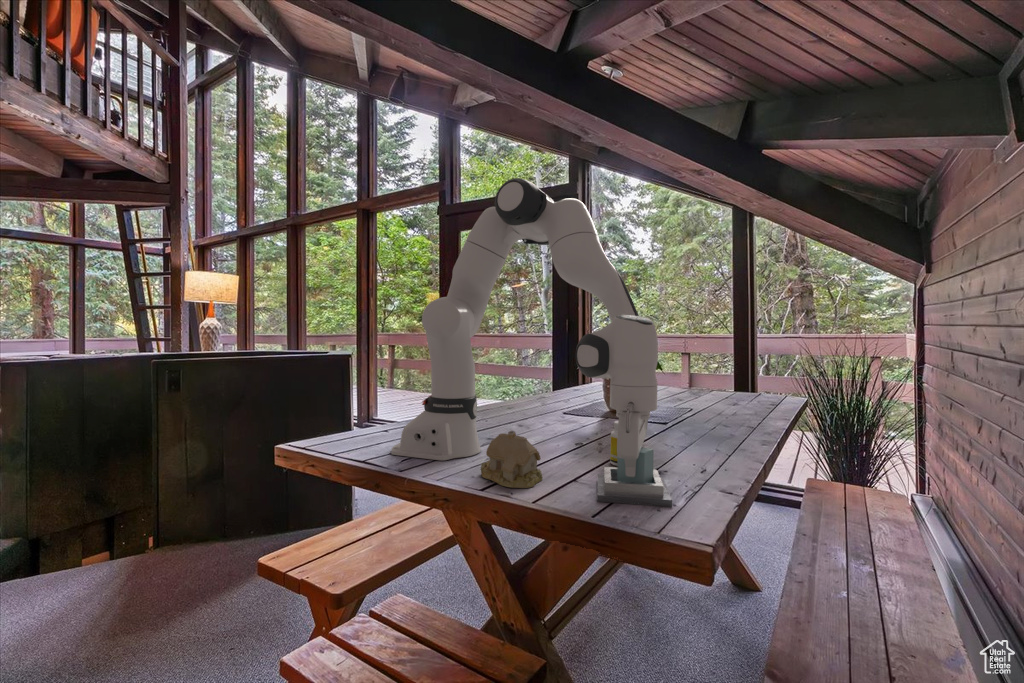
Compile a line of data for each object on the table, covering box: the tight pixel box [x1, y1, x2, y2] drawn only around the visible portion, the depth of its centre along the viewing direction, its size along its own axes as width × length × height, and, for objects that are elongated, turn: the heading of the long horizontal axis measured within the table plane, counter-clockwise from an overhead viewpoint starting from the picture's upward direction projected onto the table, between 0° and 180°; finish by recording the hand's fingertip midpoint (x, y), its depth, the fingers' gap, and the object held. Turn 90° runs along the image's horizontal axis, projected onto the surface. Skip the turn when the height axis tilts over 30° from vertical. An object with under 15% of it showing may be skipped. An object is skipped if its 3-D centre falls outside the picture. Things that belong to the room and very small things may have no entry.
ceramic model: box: [480, 430, 543, 489], centre depth 101 cm, size 14×11×10 cm
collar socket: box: [596, 466, 673, 508], centre depth 93 cm, size 13×13×3 cm
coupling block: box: [616, 446, 654, 483], centre depth 92 cm, size 4×6×7 cm
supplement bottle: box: [609, 420, 618, 467], centre depth 113 cm, size 5×5×10 cm
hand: (632, 471), depth 93 cm, fingers closed on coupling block, 5 cm apart
